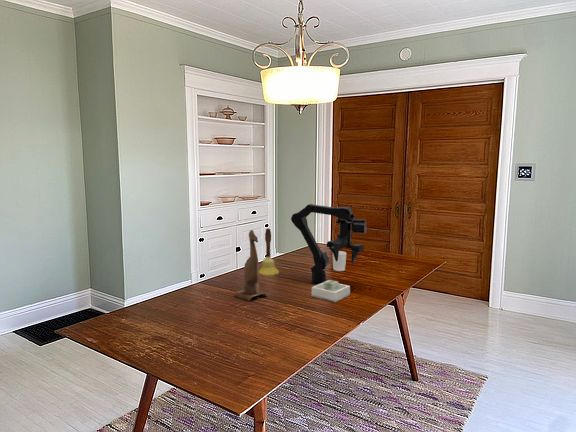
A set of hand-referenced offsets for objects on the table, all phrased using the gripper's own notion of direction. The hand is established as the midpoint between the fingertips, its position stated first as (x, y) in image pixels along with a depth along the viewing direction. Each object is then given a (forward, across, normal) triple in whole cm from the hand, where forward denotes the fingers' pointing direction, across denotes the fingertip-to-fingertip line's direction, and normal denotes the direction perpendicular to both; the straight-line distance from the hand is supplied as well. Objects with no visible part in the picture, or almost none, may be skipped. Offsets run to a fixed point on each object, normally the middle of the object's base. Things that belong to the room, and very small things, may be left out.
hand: (344, 262), depth 219 cm
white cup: (+12, -18, +24) cm, 32 cm away
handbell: (+12, -46, -6) cm, 48 cm away
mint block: (+11, +3, -18) cm, 21 cm away
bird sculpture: (+12, -25, -42) cm, 50 cm away
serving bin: (+12, +4, -18) cm, 22 cm away
